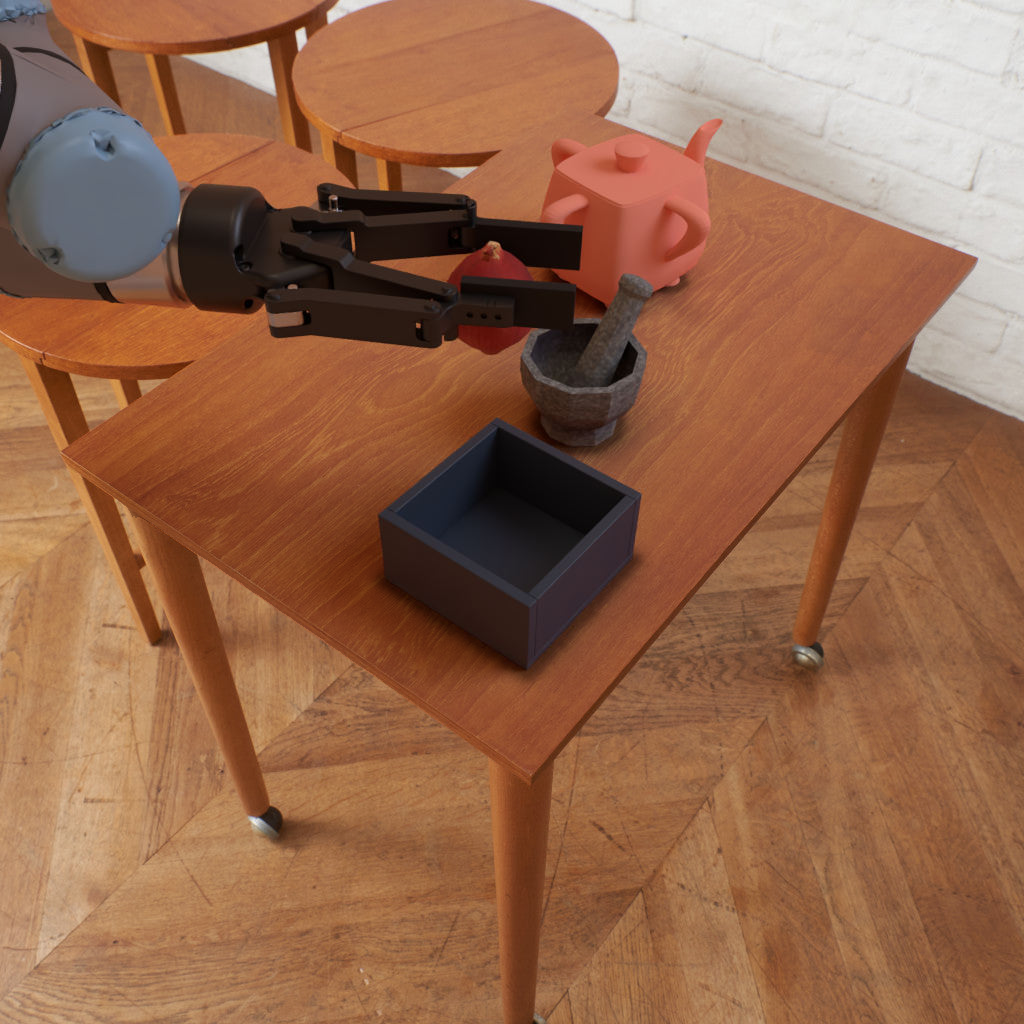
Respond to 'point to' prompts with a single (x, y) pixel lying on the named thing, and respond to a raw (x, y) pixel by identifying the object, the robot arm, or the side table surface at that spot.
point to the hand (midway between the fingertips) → (577, 277)
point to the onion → (491, 265)
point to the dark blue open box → (509, 539)
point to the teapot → (631, 208)
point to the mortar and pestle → (588, 369)
